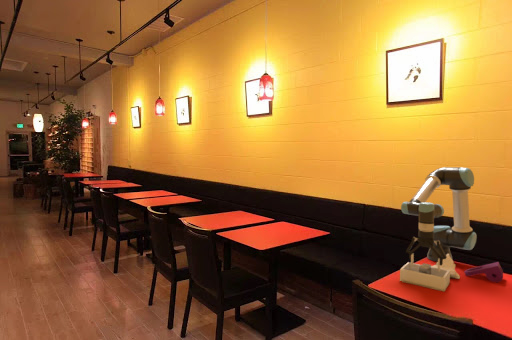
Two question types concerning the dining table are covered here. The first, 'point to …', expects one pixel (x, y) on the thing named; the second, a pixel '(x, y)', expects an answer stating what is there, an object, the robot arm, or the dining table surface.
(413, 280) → the cream rectangular tray
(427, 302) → the dining table surface
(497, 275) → the mounting bracket
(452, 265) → the cream faceted chunk
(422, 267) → the brushed metal block
